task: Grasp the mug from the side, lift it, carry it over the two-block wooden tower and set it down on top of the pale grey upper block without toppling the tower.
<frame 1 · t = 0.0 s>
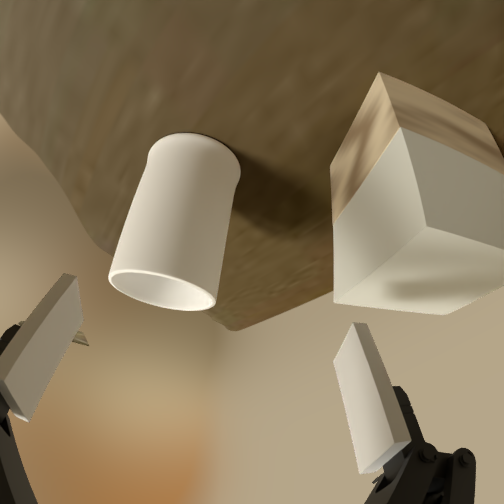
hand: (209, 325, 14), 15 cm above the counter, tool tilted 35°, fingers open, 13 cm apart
tower top: (425, 202, 18), point 6 cm above the counter, touching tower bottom
mug: (199, 176, 29), on the counter
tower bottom: (407, 141, 21), on the counter, touching tower top
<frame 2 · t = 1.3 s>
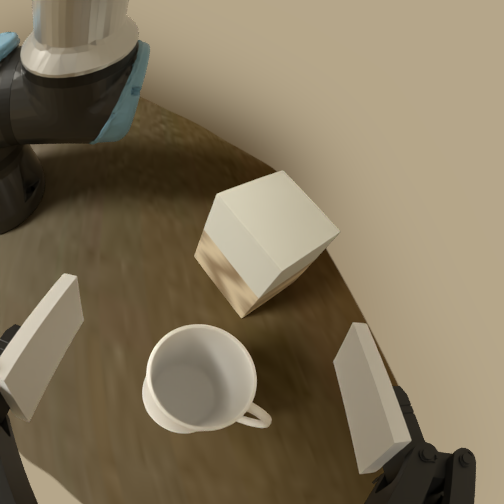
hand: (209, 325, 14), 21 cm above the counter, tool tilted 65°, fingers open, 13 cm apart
tower top: (262, 245, 37), point 6 cm above the counter, touching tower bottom
mug: (194, 404, 30), on the counter
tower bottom: (246, 269, 42), on the counter, touching tower top
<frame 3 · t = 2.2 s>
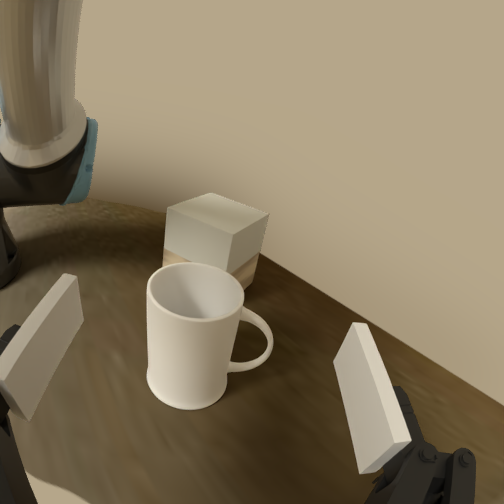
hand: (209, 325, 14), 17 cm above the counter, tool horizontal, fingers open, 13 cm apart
tower top: (213, 249, 44), point 6 cm above the counter, touching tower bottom
mug: (201, 383, 31), on the counter
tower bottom: (208, 283, 47), on the counter, touching tower top
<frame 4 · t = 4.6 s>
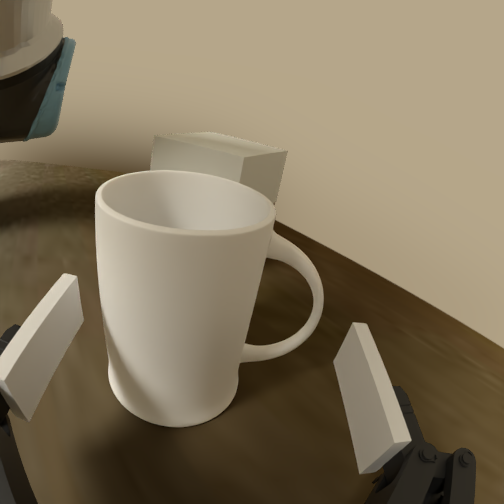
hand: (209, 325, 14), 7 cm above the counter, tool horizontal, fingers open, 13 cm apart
tower top: (215, 197, 33), point 6 cm above the counter, touching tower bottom
mug: (196, 382, 19), on the counter
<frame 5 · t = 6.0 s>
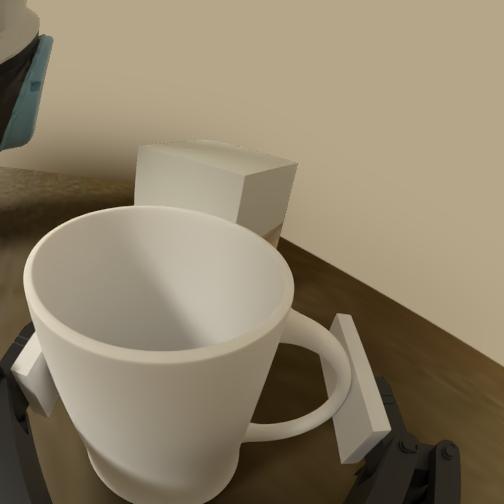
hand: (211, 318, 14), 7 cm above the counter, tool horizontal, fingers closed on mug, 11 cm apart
tower top: (212, 217, 28), point 6 cm above the counter, touching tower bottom
mug: (189, 453, 14), on the counter, touching gripper
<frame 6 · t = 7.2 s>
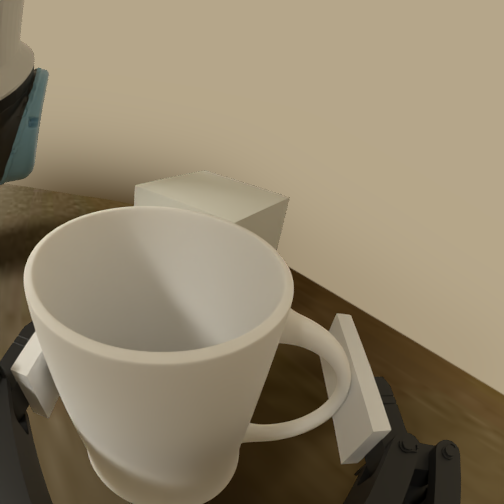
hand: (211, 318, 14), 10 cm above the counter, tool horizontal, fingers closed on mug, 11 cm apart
tower top: (207, 250, 30), point 6 cm above the counter, touching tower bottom
mug: (189, 453, 14), point 3 cm above the counter, touching gripper
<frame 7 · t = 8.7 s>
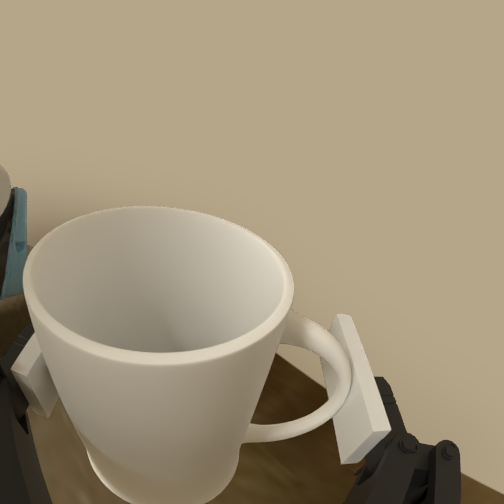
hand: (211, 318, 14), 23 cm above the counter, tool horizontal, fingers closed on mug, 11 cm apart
mug: (189, 454, 14), point 16 cm above the counter, touching gripper
when the fingers open (20 cm above the counter, at t = 11.0 s): mug drops 2 cm, resting on tower top.
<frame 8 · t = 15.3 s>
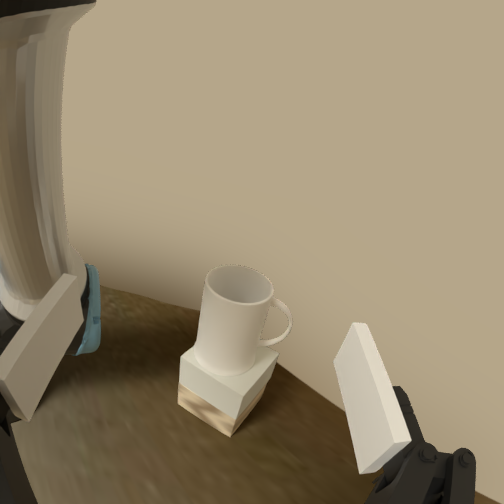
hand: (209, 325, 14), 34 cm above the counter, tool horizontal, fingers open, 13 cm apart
tower top: (226, 381, 44), point 6 cm above the counter, touching mug, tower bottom
mug: (235, 357, 42), point 12 cm above the counter, touching tower top
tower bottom: (220, 402, 47), on the counter, touching tower top
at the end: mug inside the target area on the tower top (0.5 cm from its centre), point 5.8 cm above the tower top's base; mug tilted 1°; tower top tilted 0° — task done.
